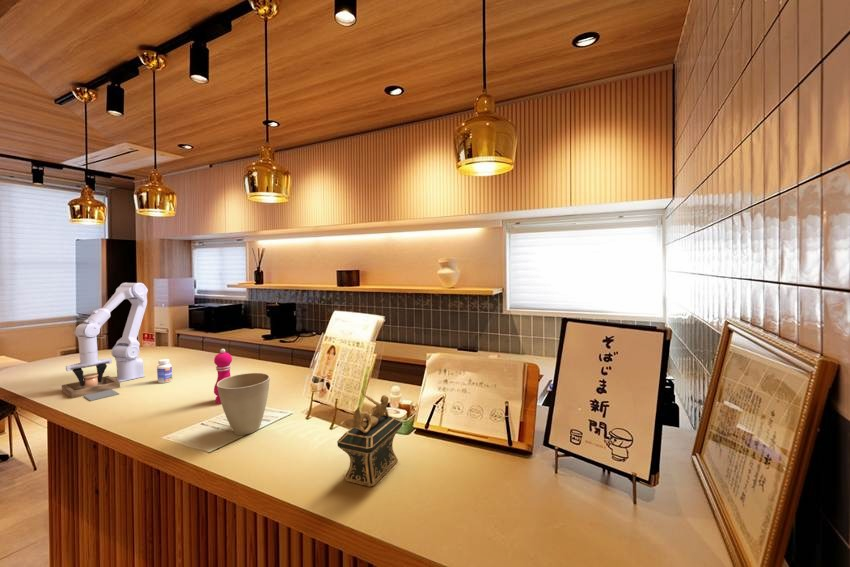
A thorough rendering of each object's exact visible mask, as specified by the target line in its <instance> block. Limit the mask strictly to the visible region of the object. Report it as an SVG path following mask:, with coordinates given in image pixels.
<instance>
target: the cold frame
mask: <svg viewBox="0 0 850 567" xmlns="http://www.w3.org/2000/svg"><path fill="white" fill-rule="evenodd" d="M118 388H121V382H119V381H117V380H115V379H114V377H111V376H109V375H105V376H102V380H101V382H100V383H99V382H98V386H94V387H90V388H85V389H84V386H80V382H79V381H74V382H70V383H66V384H62V385H61V391H62V392H63V393H64V394H65V395H67V396H68V397H69V398H71V399H75V398H79V397H84V395H89V394H93V393H97V392H102V391H106V390H111V389H112V390H114V389H115V390H116V389H118Z"/></svg>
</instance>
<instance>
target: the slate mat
mask: <svg viewBox="0 0 850 567" xmlns="http://www.w3.org/2000/svg"><path fill="white" fill-rule="evenodd" d="M118 395H120V393H119V392H118V391H116V390H114V389H111V390H106V391H102V392H97V393H93V394H89V395H84V396H83V397H84V399H86V400H88V401H89V402H93V401H97V400H101V399H105V398H109V397H114V396H118Z"/></svg>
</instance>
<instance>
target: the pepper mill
mask: <svg viewBox="0 0 850 567" xmlns="http://www.w3.org/2000/svg"><path fill="white" fill-rule="evenodd" d="M213 361H214V364H215V371H216V372H217V378H216V381H215V384H214V386H213V387H214V388H213V393H214V395H215V396H216V397H215V403H216V404H219V405H222V404H221V401H220V397H219V393H218V388H217V383H218V382H219V381H220V380H222V379H224V378H227V377H231V376H232V375H231V369H232V364H231V363H232V361H233V357H232V354H230V353H229V352H226V349H225V348H221V349H220V350H219V353H217V354H216V355H215V356H214V359H213Z"/></svg>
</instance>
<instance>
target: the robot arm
mask: <svg viewBox="0 0 850 567" xmlns="http://www.w3.org/2000/svg"><path fill="white" fill-rule="evenodd" d="M148 292H149V289H148V288H147V286H146V285H145V284H144V283H143V282H122V283H121V284H120V285H119V286H117V288H116V289H115V292H114V294H112V295H111V297H110V298H109V299H108V300H107V302H106V303H105V304H104V305H103V306H102V307H101V308H96V309H94V310H93V311H92V314H91V315H90V316H89V317H87V319H84V320H83V323H79V325H77V326H76V327H75V330H73V333H74V335H75V336H76V338H77V341H78V352H79V362H78V363H73V364H69V365H65V371H66V372H71V371H72V373H74V375H75V376H76V378H77V380H78V382H80V386H84V380H83V375H84V370H83V369H86V368H90V367H96V373H98V374H99V376H98V382H99V383H100V382H101V380H102V377H104V376H103V375H104V373H105V370H106V369H107V366H108V365H107V364H109V365H110V364H112V363H113V358H114V361H115V362H116V376H117V377H113V379H115V380H117V381H119V382H120V383H122V382H125V381H131V380H134V379H139V378H144V377H145V372H144V371H145V370H144V368H145V367H144V361H143V358H142V357H140V356H139V354H140V345H141V344H140V342H139V340H138V339H137V338H138V336H139V332H140V329H141V326H142V321H143V318H144V316H145V312H146V308H147V304H148V297H147V295H148ZM124 300H128V301H129V302H130V304H131V306H130V310H129V313H128V316H127V320H126V322H125V326H124V329H123V332H122V337H120V338H119V339H118V340H117V341H116V343H115V344H114V346H113V347H112V348H111V356H112V357H113V358H111V357H108V358H103V359H99V355H98V354H99V352H98V340H97V339H98V337H97V336H98V335H99V334H100V332H101V328H102V327H103V326H104V324H105V323H106V322H107V321H108V320H109V319H110V318H111V313H112V311H113V310H114V309H116V308H117V307H118V306H119V305H120V304H121V303H122V302H123V301H124Z"/></svg>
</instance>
